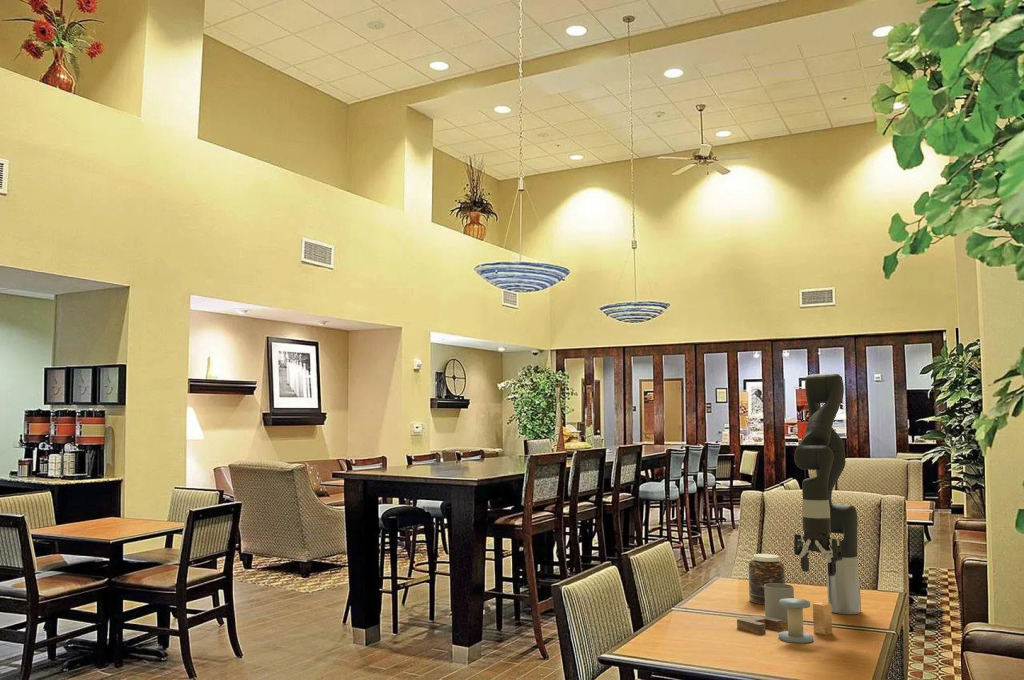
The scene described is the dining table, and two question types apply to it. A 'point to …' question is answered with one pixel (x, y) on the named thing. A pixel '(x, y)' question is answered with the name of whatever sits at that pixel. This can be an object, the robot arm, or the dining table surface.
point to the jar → (764, 575)
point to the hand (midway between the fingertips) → (818, 573)
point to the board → (759, 624)
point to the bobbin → (795, 621)
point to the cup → (777, 600)
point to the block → (822, 618)
